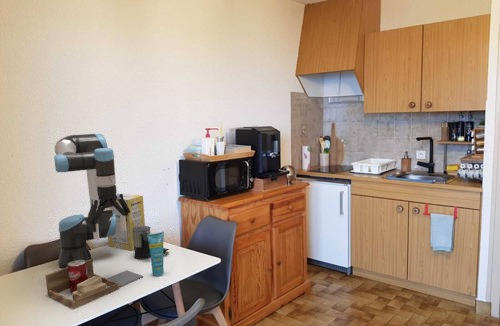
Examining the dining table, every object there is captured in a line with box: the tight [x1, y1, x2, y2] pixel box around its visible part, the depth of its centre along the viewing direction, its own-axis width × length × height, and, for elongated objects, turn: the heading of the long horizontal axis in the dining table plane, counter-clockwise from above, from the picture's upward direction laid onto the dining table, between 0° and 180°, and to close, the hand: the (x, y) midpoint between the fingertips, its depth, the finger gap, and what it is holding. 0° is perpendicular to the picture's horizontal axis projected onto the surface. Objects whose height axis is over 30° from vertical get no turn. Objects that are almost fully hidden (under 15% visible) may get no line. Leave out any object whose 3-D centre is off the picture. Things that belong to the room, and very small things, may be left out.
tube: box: [147, 231, 165, 277], centre depth 177 cm, size 7×5×19 cm, turn 123°
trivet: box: [106, 270, 144, 288], centre depth 174 cm, size 12×12×1 cm
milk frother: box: [132, 225, 170, 260], centre depth 201 cm, size 14×16×15 cm
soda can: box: [67, 260, 88, 294], centre depth 163 cm, size 7×7×12 cm
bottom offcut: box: [71, 283, 107, 301], centre depth 159 cm, size 5×12×4 cm, turn 146°
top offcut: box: [77, 276, 103, 294], centre depth 159 cm, size 4×9×3 cm, turn 155°
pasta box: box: [107, 193, 146, 252], centre depth 217 cm, size 18×10×28 cm, turn 60°
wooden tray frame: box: [45, 259, 121, 310], centre depth 162 cm, size 20×20×9 cm
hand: (110, 234), depth 167 cm, fingers open, 13 cm apart
